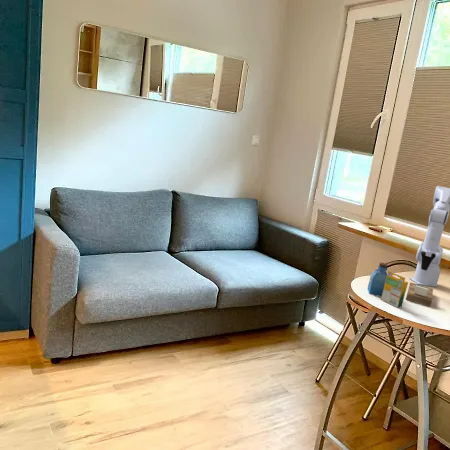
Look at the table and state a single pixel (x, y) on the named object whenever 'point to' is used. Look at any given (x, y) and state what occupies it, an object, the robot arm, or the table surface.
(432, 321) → the table surface
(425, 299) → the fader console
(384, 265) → the perfume bottle
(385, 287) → the crayon box
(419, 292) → the fader knob
